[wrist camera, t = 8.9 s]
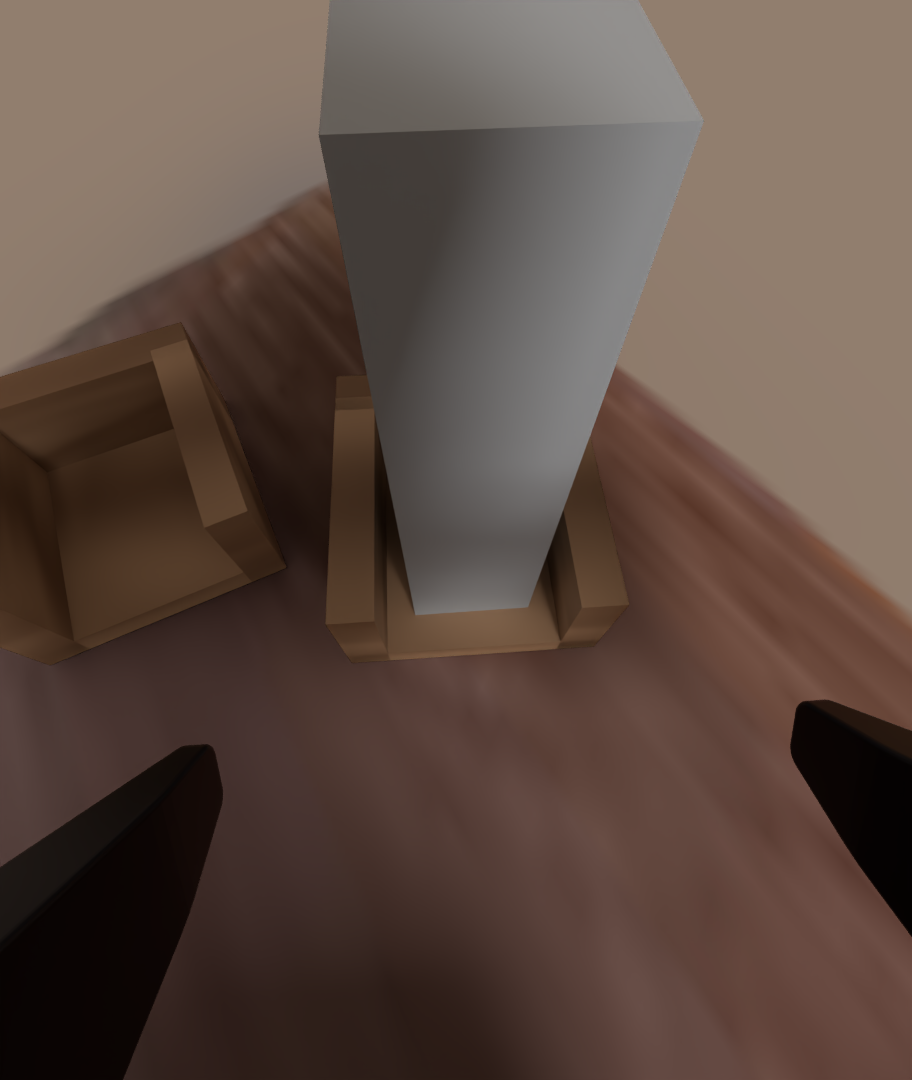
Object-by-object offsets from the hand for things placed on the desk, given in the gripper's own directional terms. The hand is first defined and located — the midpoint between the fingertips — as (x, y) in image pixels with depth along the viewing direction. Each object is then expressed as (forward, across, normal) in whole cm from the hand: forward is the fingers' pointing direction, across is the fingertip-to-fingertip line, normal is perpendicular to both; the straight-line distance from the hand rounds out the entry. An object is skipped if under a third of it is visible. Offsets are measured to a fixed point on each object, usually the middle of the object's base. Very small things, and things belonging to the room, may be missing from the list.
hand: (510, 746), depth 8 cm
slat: (+10, 0, 0) cm, 10 cm away
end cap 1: (+12, +11, -1) cm, 16 cm away
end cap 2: (+10, 0, 0) cm, 10 cm away
